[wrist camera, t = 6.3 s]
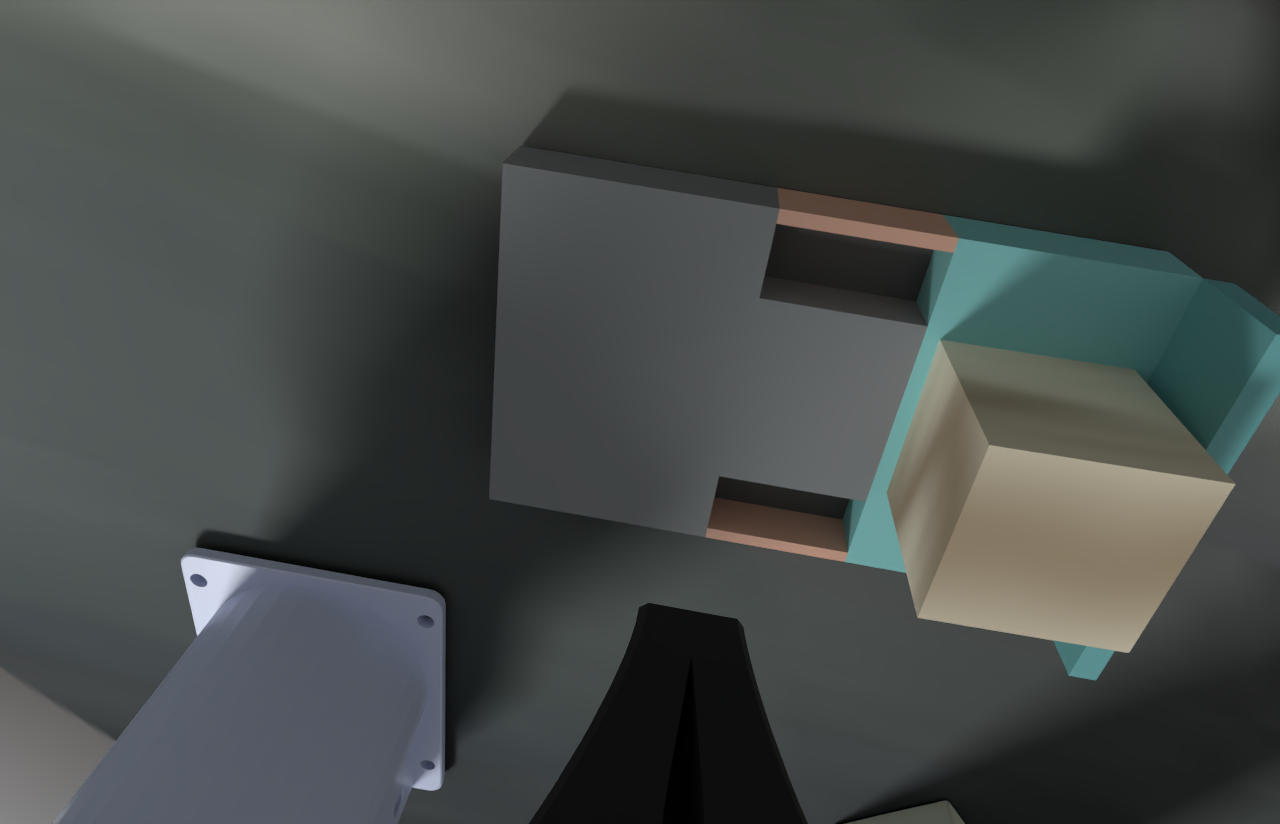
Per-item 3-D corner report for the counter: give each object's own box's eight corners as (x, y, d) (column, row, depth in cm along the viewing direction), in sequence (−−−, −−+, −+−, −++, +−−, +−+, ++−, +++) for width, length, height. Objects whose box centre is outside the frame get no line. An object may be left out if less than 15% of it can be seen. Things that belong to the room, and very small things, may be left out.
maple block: (1059, 520, 19) (1129, 652, 15) (886, 492, 19) (917, 617, 15) (1134, 369, 17) (1234, 483, 13) (939, 339, 17) (989, 445, 13)
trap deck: (504, 465, 21) (458, 565, 18) (520, 145, 17) (464, 199, 14) (1039, 559, 21) (1096, 680, 18) (1197, 256, 17) (1313, 340, 13)
